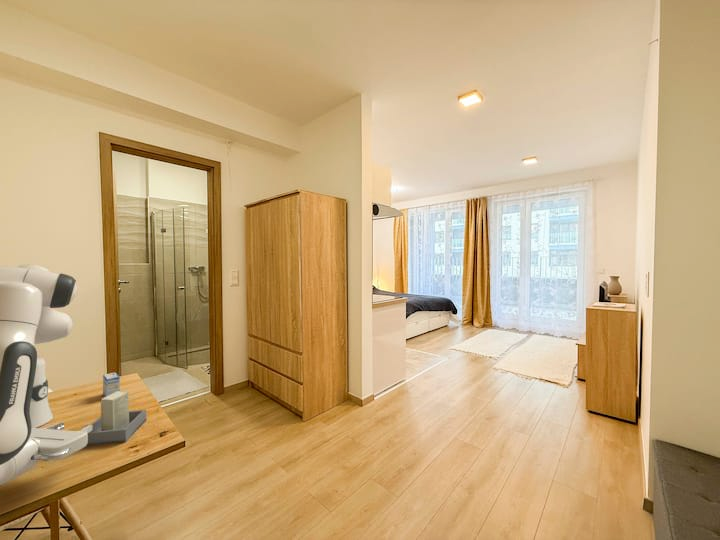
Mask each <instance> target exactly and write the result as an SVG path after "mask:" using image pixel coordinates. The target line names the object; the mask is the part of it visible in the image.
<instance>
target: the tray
mask: <svg viewBox="0 0 720 540" xmlns="http://www.w3.org/2000/svg"><path fill="white" fill-rule="evenodd" d="M146 421H147V409H138V410H129V425H127V426H126V427H125V428H124V429H115V430H106V431H102V426H101V416H100V417H98V418H97V419H95V420H94V421H93V422H92V423H90V424H89V425H92V426H93V429H92V431H91V432H89V433H87V434H88V443H87V445H86V446H85V447H92V446H100V445H101V446H102V445H110V444H112V445H113V444H120V443H127V441H128V440H129V439H130V438H132V436H133V435H134V434H135V433H136V432H137V431H138V430H139V429H140V428H141V427H142V426H143V424H145V423H146Z"/></svg>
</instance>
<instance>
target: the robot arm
mask: <svg viewBox="0 0 720 540" xmlns="http://www.w3.org/2000/svg"><path fill="white" fill-rule="evenodd" d="M77 295H78V284H77V280H76V279H75V278H74V277H73V276H72V275H68V274H66V273H57V272H53V271H50V270H49V269H48V268H46V267H44V266H42V265H38V264H23V265H19V266H9V265H8V266H7V265H5V266H3V265H0V486H2V485H4V484H7V483H9V482H11V481H12V480H14V479H16V478H17V477H20V476H21V475H23V474H24V473H27V472H28V471H30V470H32V469H33V468H35V466H36V465H37V464H38V463H39V461H43V462H50V461H52V462H55V461H60V460H61V459H64V458H67V457H68V456H70V455H72V454H75V453H77V452H78V451H80V450H82V449H84V448H86V447H87V446H86V445H87V443H88V434H87V433H89V432H91V431H92V429H93V426H92V425H90V424H86V425H84V426H81V430H77V431H76V430H66V429H65V423H64V422H57V423H55V424H53V425H48V426H45V427H42V428H41V426H43V425H46V424H47V423H49V422H50V421H52V420H53V418H54V415H53V413H52V410H51V407H50V403H49V399H48V392H49V383H48V382H49V381H48V379H47V373H46V372H47V370H46V369H47V367H46V360H45V359H44V358H43V357H42V356H39V355H38V353H37V352H38V351H37V349H36V347H35V345H38V344H39V345H40V344H46V343H50V342H54V341H59V340H60V339H64V338H67V336H69V335H70V333H72V331H73V326H74V322H73V320H72V319H73V318H71V316H70V315H69V314H67V312H66V313H65V312H63V311H58V310H56V309H59V308H65V307H67V306H68V305H70V303H72V301H73V300H74V299H75V298H76V297H77ZM39 427H40V428H39ZM64 429H65V430H64Z"/></svg>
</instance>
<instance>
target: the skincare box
mask: <svg viewBox="0 0 720 540" xmlns="http://www.w3.org/2000/svg"><path fill="white" fill-rule="evenodd" d="M129 400H130V399H129V391H123V390H122V391H121V390H120V391H116V392H114V393H112V394H110V395H108V396H106V397H105V396H104V397H102V398H100V412H101V413H100V417H101V426H102V431H106V430H115V429H124V428H125V427H126V426H127V425H129V411H130V404H129V403H130V401H129Z"/></svg>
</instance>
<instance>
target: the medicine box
mask: <svg viewBox="0 0 720 540" xmlns="http://www.w3.org/2000/svg"><path fill="white" fill-rule="evenodd" d="M116 391H121V377H120V376H119V374H118V373H117V372H110V373H106V374H103V376H102V394H103V396H104V397H106V396H108V395H110V394H112V393H114V392H116Z"/></svg>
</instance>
